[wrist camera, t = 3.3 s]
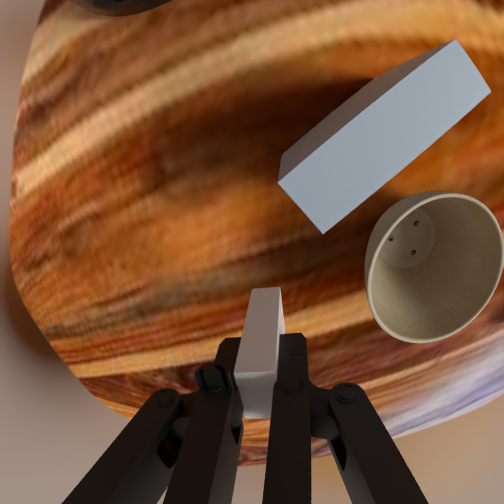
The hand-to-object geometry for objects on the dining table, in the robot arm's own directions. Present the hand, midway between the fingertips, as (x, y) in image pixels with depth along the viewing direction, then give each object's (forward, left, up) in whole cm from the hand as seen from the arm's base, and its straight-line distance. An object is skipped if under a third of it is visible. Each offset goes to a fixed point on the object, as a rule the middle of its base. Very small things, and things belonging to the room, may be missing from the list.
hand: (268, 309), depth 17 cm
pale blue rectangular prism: (-4, +10, -8) cm, 13 cm away
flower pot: (+6, +9, -8) cm, 13 cm away
